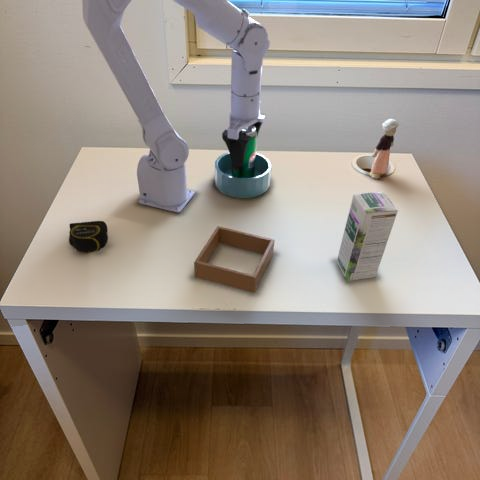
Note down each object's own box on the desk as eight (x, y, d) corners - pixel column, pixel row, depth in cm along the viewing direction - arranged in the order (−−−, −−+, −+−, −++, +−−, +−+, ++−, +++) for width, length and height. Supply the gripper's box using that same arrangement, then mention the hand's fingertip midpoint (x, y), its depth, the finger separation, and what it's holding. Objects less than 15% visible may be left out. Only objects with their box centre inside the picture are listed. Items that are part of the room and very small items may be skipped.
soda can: (252, 188, 102) (254, 134, 93) (229, 185, 102) (230, 131, 94) (256, 176, 105) (259, 123, 96) (234, 173, 106) (235, 120, 97)
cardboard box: (194, 277, 83) (193, 262, 80) (217, 240, 90) (217, 225, 87) (254, 293, 80) (255, 278, 78) (273, 254, 88) (274, 239, 85)
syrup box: (335, 261, 87) (351, 193, 76) (364, 257, 88) (384, 189, 77) (346, 282, 83) (365, 213, 72) (377, 277, 84) (399, 209, 73)
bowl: (206, 191, 102) (206, 172, 98) (226, 164, 109) (226, 146, 106) (260, 203, 99) (261, 184, 96) (276, 175, 107) (277, 156, 104)
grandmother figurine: (380, 182, 106) (395, 128, 97) (364, 177, 107) (377, 123, 98) (391, 168, 110) (407, 115, 101) (376, 163, 112) (390, 110, 102)
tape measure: (109, 232, 91) (105, 216, 88) (109, 255, 86) (105, 238, 83) (72, 235, 90) (68, 219, 87) (70, 258, 85) (65, 242, 82)
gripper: (253, 109, 84) (250, 177, 94) (276, 80, 93) (271, 145, 103) (217, 102, 86) (217, 170, 96) (243, 75, 95) (241, 139, 105)
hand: (243, 157), depth 100 cm, fingers open, 7 cm apart
